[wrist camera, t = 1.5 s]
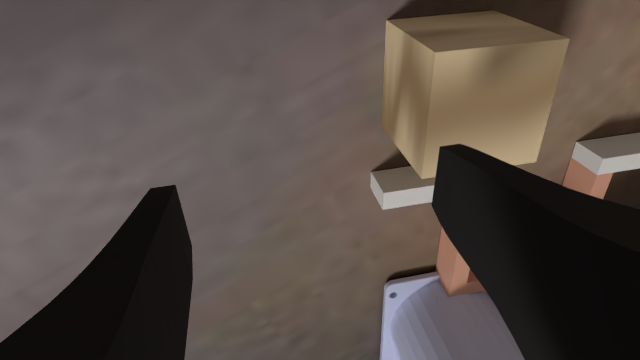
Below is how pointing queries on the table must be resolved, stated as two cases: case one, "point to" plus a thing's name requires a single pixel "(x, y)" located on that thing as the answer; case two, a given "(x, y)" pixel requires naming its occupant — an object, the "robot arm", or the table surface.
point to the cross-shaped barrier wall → (582, 175)
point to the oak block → (469, 85)
